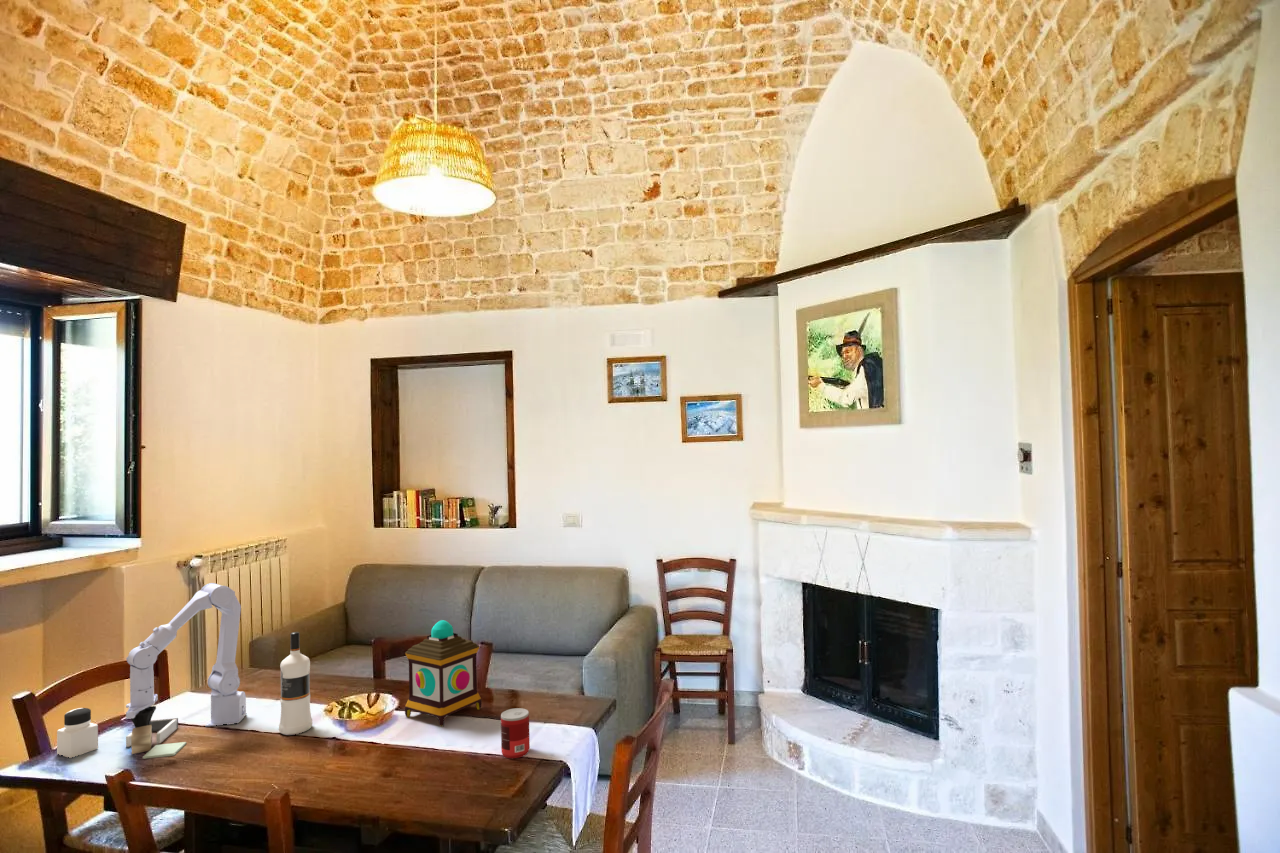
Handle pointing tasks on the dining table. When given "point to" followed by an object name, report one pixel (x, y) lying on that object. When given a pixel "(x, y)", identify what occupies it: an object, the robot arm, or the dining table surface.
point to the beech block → (141, 739)
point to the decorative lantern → (442, 674)
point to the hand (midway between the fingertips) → (142, 734)
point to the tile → (164, 750)
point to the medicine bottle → (77, 734)
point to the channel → (159, 729)
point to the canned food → (515, 733)
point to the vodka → (295, 691)
